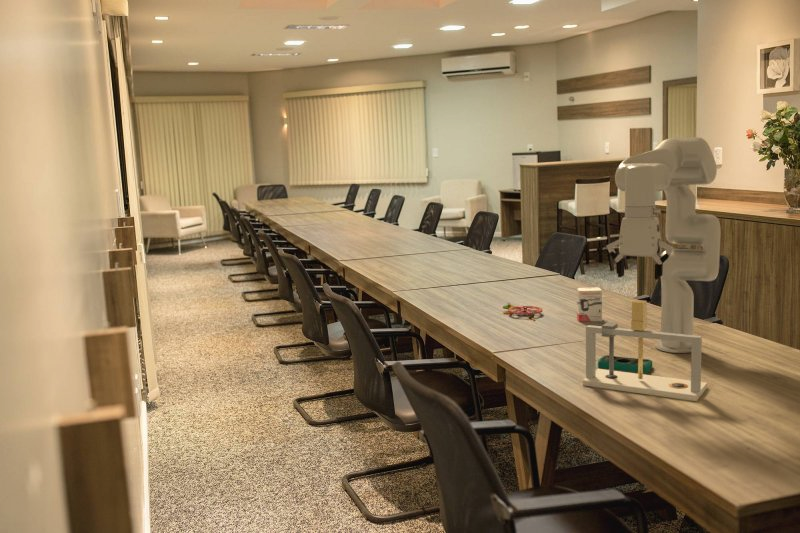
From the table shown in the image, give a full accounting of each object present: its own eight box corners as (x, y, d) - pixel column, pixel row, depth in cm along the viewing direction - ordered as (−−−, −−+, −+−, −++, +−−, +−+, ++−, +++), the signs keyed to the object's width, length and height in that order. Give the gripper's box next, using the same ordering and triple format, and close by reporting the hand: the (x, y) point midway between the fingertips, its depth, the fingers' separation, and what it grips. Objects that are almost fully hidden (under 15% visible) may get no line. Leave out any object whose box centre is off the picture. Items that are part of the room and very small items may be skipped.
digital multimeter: (603, 363, 239) (603, 353, 239) (653, 368, 232) (653, 358, 231) (595, 369, 233) (595, 360, 233) (647, 375, 226) (647, 365, 225)
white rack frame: (597, 373, 228) (597, 316, 225) (707, 387, 211) (708, 326, 209) (582, 385, 218) (582, 326, 215) (696, 401, 201) (697, 337, 199)
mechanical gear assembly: (515, 323, 293) (554, 321, 296) (516, 312, 293) (554, 310, 296) (491, 307, 323) (527, 305, 325) (492, 297, 322) (527, 295, 325)
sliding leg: (635, 376, 216) (636, 299, 213) (646, 378, 214) (647, 300, 211) (630, 381, 213) (631, 302, 209) (642, 382, 211) (642, 303, 208)
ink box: (578, 321, 290) (578, 290, 288) (576, 318, 295) (576, 287, 293) (602, 321, 290) (602, 289, 288) (599, 318, 294) (599, 287, 293)
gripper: (677, 212, 205) (676, 277, 207) (611, 211, 214) (611, 273, 217) (669, 214, 198) (668, 282, 201) (602, 213, 208) (602, 277, 210)
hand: (639, 277), depth 209 cm, fingers open, 9 cm apart
